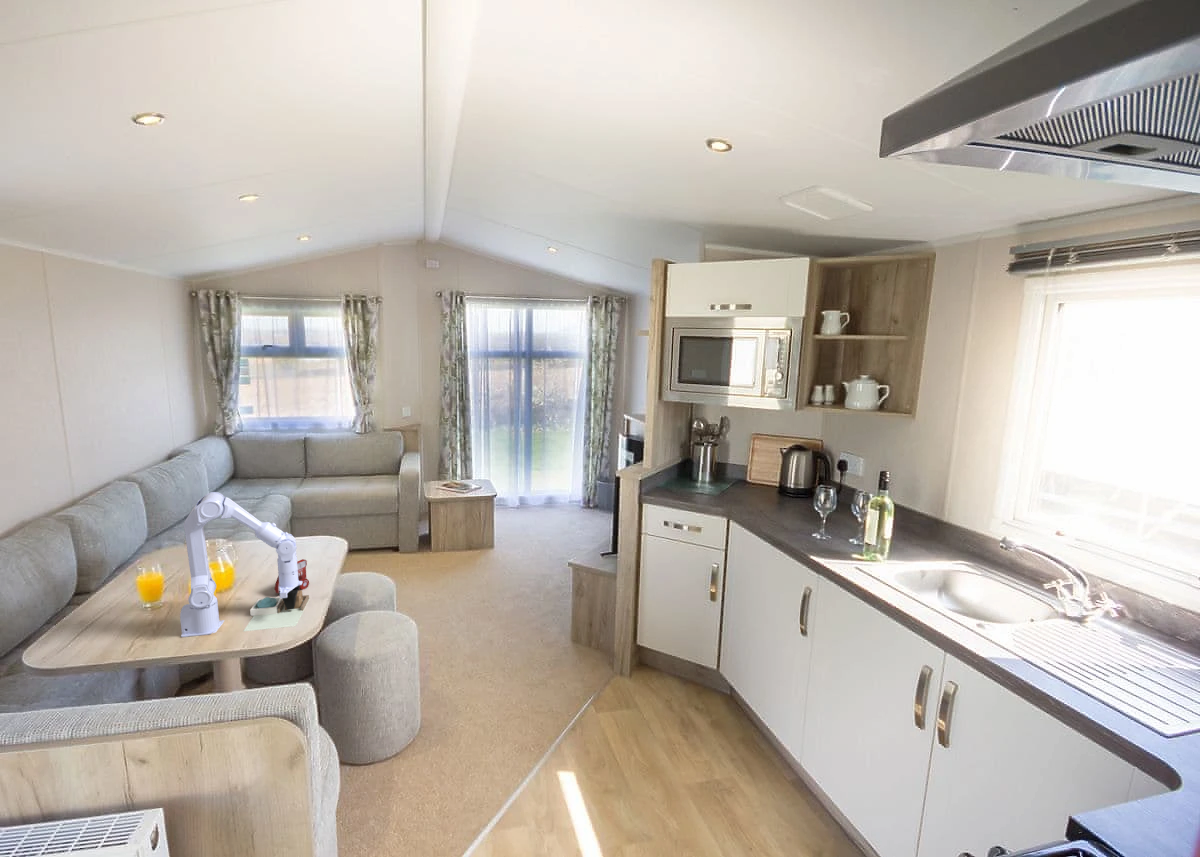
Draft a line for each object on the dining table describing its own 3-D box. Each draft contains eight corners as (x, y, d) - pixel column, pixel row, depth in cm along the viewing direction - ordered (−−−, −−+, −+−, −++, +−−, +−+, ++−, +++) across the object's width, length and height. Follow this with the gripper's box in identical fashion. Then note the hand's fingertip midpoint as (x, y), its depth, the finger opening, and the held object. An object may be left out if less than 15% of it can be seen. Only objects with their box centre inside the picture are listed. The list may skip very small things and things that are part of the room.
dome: (255, 612, 185) (254, 602, 185) (260, 604, 191) (259, 594, 190) (274, 610, 187) (273, 600, 186) (278, 602, 192) (278, 593, 192)
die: (285, 609, 189) (284, 596, 188) (288, 603, 193) (287, 590, 192) (300, 608, 190) (299, 595, 189) (303, 602, 194) (302, 589, 194)
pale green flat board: (240, 633, 175) (239, 625, 174) (260, 603, 194) (259, 596, 193) (295, 627, 179) (295, 619, 178) (310, 599, 198) (309, 592, 197)
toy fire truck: (269, 595, 200) (267, 568, 198) (300, 582, 211) (298, 556, 210) (283, 599, 197) (281, 572, 196) (313, 585, 209) (311, 559, 207)
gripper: (295, 578, 180) (298, 617, 182) (306, 561, 193) (308, 597, 196) (271, 580, 178) (274, 620, 180) (283, 563, 192) (286, 599, 194)
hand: (290, 608), depth 188 cm, fingers closed
